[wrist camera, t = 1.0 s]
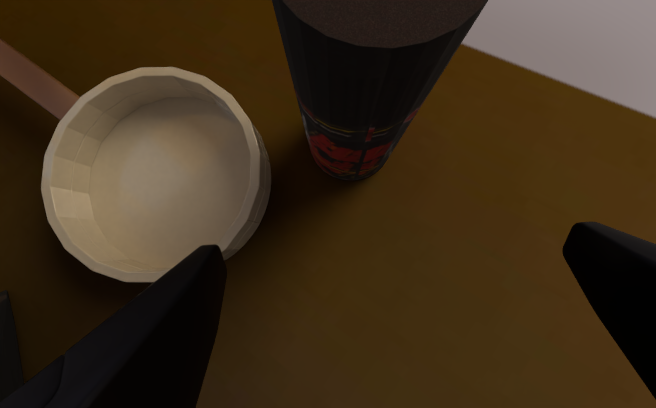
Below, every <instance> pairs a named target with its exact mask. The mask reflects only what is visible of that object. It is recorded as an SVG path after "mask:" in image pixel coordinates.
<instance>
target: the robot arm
mask: <svg viewBox="0 0 656 408" xmlns="http://www.w3.org/2000/svg"><path fill="white" fill-rule="evenodd" d="M563 256H564V258H565V260H566V262H567V264H568V265H569V267H570V269H571V271H572V273H573V274H574V276H575V278H576V280H577V281H578V283H579V285H580V287H581V289H582V290H583V292H584V294H585V296H586V297H587V299H588V301H589V303H590V304H591V306H592V308H593V309H594V311H595V313H596V314H597V316H598V317H599V319H600V320H601V322H602V323H603V324H604V326H605V327H606V329H607V330H608V332H609V333H610V335H611V336H612V337H613V339H614V340H615V342H616V343H617V345H618V346H619V347H620V349H621V350H622V352H623V353H624V355H625V356H626V357H627V359H628V360H629V362H630V363H631V365H632V366H633V368H634V369H635V370H636V372H637V373H638V375H639V376H640V378H641V379H642V380H643V382H644V383H645V385H646V386H647V388H648V389H649V391H650V392H651V393H652V395H653V396H654V398H655V399H656V244H654V243H651V242H648V241H645V240H643V239H640V238H637V237H635V236H632V235H629V234H627V233H624V232H621V231H619V230H616V229H613V228H611V227H608V226H605V225H603V224H600V223H597V222H579V223H576V224H575V225H574V226H573V227H572V228H571V231H570V233H569V235H568V237H567V239H566V242H565V244H564V246H563ZM226 278H227V269H226V265H225V262H224V259H223V256H222V253H221V249H220V247H219V246H218V245H216V244H210V245H201V246H200V247H198V248H197V249H196V250H194V251H193V252H192V253H191V254H189V255H188V256H187V257H185V258H184V259H183V260H182V261H180V262H179V263H178V264H177V265H175V266H174V267H173V268H172V269H170V270H169V271H168V272H166V273H165V274H164V275H163V276H161V277H160V278H159V279H158V280H156V281H155V282H154V283H152V284H151V285H150V286H149V287H147V288H146V289H145V290H144V291H142V292H141V293H140V294H138V295H137V296H136V297H135V298H133V299H132V300H131V301H130V302H128V303H127V304H126V305H125V306H123V307H122V308H121V309H119V310H118V311H117V312H116V313H114V314H113V315H112V316H111V317H109V318H108V319H107V320H105V321H104V322H103V323H102V324H100V325H99V326H98V327H97V328H95V329H94V330H93V331H91V332H90V333H89V334H88V335H86V336H85V337H84V338H83V339H81V340H80V341H79V342H78V343H76V344H75V345H74V346H72V347H71V348H70V349H69V350H67V351H66V353H65V355H61V356H60V357H58V358H57V359H56V360H55V361H53V362H52V363H51V364H49V365H48V366H47V367H46V368H44V369H43V370H42V371H41V372H39V373H38V374H37V375H35V376H34V377H33V378H31V379H30V380H29V381H27V382H26V383H25V384H24V385H22V386H21V387H20V388H18V389H17V390H16V391H14V392H13V393H12V394H10V395H9V396H8V397H7V398H5V399H4V400H2V401H1V402H0V408H196V404H197V401H198V397H199V394H200V390H201V387H202V383H203V380H204V377H205V373H206V370H207V366H208V363H209V359H210V356H211V352H212V349H213V345H214V342H215V338H216V334H217V330H218V325H219V319H220V313H221V307H222V302H223V296H224V290H225V284H226Z"/></svg>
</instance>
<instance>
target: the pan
mask: <svg viewBox="0 0 656 408" xmlns="http://www.w3.org/2000/svg"><path fill="white" fill-rule="evenodd" d="M270 191H271V168H270V162H269V157H268V154H267V151H266V148H265V145H264V143H263V140H262V137H261V135H260V134H259V132H258V131H257V130H256V128H255V127H254V125H253V124H252V122H251V121H250V119H249V118H248V117H247V115H246V114H245V112H244V111H243V110H242V108H241V107H240V106H239V104H238V103H237V102H236V100H235V99H234V97H233V96H232V95H231V94H230V93H228V92H227V91H225V90H224V89H223V88H221V87H220V86H218V85H217V84H215V83H214V82H212V81H211V80H210V79H208V78H207V77H205V76H202V75H198V74H195V73H192V72H188V71H185V70H182V69H178V68H175V67H150V68H138V69H135V70H132V71H128V72H125V73H122V74H119V75H116V76H113V77H110V78H108V79H106V80H105V81H103V82H102V83H100V84H99V85H97V86H96V87H94V88H93V89H91V90H90V91H88V92H87V93H85V94H84V95H82V96H81V97H80V98H79V99H78V100H77V102H76V103H75V104H74V105H73V106H72V107H71V109H70V110H69V111H68V112H67V113H66V115H65V116H64V117H63V118H62V119H61V120H60V122H59V123H58V125H57V127H56V130H55V132H54V134H53V136H52V139H51V141H50V143H49V146H48V148H47V150H46V152H45V155H44V164H43V173H42V182H41V192H42V196H43V201H44V206H45V211H46V215H47V220H48V222H49V224H50V225H51V227H52V229H53V230H54V232H55V234H56V235H57V237H58V239H59V240H60V242H61V243H62V245H63V247H64V248H65V249H66V250H67V251H68V252H69V253H70V254H72V255H73V256H74V257H75V258H77V259H78V260H79V261H80V262H82V263H83V264H84V265H85V266H87V267H88V268H89V269H90V270H92V271H94V272H97V273H99V274H102V275H105V276H108V277H111V278H114V279H117V280H120V281H123V282H155V281H156V280H158V279H159V278H160V277H161V276H163V275H164V274H165V273H166V272H168V271H169V270H170V269H172V268H173V267H174V266H175V265H177V264H178V263H179V262H180V261H182V260H183V259H184V258H185V257H187V256H188V255H189V254H191V253H192V252H193V251H194V250H196V249H197V248H198V247H200V246H201V245H210V244H216V245H218V246H219V247H220V249H221V253H222V256H223V259H224V261H225V260H227V259H228V258H230V257H231V256H233V255H234V254H235V253H236V252H237V251H238V250H240V249H241V248H242V247H243V246H244V245H245V244H246V242H247V241H248V240H249V239H250V238H251V236H252V235H253V234H254V232H255V231H256V229H257V227H258V226H259V224H260V222H261V220H262V218H263V216H264V214H265V211H266V207H267V204H268V201H269V196H270Z"/></svg>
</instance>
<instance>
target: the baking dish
mask: <svg viewBox="0 0 656 408" xmlns="http://www.w3.org/2000/svg"><path fill="white" fill-rule="evenodd" d="M22 385H24V381H23V375H22V368H21V362H20V356H19V349H18V343H17V336H16V330H15V324H14V318H13V314H12V310H11V306H10V301H9V297H8V293H7V291H6V290H5V291H3V292H1V293H0V402H1V401H2V400H4V399H5V398H7V397H8V396H9V395H10V394H12V393H13V392H14V391H16V390H17V389H18V388H20V387H21V386H22Z"/></svg>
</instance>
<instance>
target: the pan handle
mask: <svg viewBox="0 0 656 408" xmlns="http://www.w3.org/2000/svg"><path fill="white" fill-rule="evenodd" d="M0 75H1V76H2V77H3V78H5V79H6V80H7V81H9V82H10V83H11V84H13V85H14V86H15V87H17V88H18V89H19V90H21V91H22V92H23V93H25V94H26V95H27V96H29V97H30V98H31V99H33V100H34V101H35V102H37V103H38V104H39V105H41V106H42V107H43V108H44V109H46V110H47V111H48V112H50V113H51V114H52V115H54V116H55V117H56V118H58V119H59V120H61V119H62V118H63V117H64V116H65V115H66V113H67V112H68V111H69V110H70V109H71V107H72V106H73V105H74V104H75V103H76V102H77V100H78V99H79V98H80V97H79V96H78V95H77V94H75V93H74V92H73V91H71V90H70V89H69V88H67V87H66V86H65V85H63V84H62V83H60V82H59V81H58V80H56V79H55V78H54V77H52V76H51V75H50V74H48V73H47V72H46V71H44V70H43V69H42V68H40V67H39V66H37V65H36V64H35V63H33V62H32V61H31V60H29V59H28V58H27V57H25V56H24V55H23V54H21V53H20V52H19V51H17V50H16V49H14V48H13V47H12V46H10V45H9V44H8V43H6V42H5V41H4V40H2V39H1V38H0Z"/></svg>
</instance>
